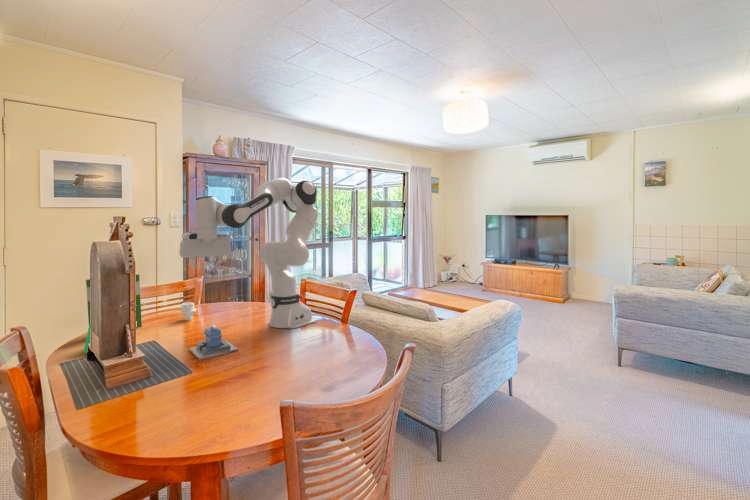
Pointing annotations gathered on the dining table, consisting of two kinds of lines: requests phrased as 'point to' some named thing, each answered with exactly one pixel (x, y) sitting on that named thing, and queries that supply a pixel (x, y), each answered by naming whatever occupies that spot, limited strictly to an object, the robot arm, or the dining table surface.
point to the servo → (213, 337)
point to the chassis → (212, 349)
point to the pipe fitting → (188, 310)
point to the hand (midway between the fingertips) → (206, 266)
